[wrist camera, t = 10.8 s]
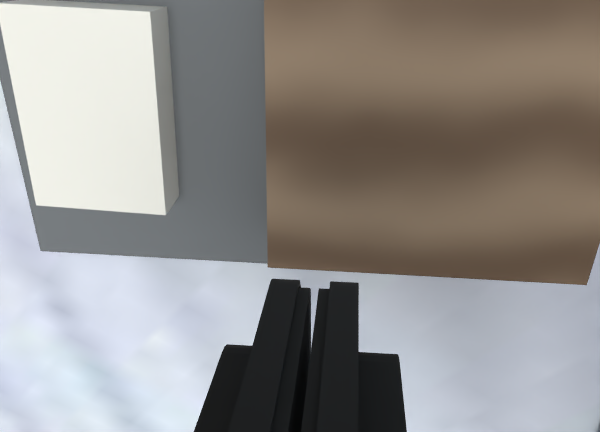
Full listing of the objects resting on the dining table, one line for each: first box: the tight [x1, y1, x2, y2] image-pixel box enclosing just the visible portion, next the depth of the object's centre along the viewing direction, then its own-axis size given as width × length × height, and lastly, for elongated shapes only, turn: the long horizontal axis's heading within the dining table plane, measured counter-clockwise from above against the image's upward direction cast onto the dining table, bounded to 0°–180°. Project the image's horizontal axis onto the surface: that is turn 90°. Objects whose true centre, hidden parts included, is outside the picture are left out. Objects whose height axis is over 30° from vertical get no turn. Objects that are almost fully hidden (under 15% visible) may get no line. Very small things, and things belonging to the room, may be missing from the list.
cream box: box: [0, 0, 179, 215], centre depth 27 cm, size 10×7×2 cm
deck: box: [264, 0, 600, 285], centre depth 25 cm, size 14×16×4 cm
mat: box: [0, 0, 268, 263], centre depth 28 cm, size 18×14×1 cm
